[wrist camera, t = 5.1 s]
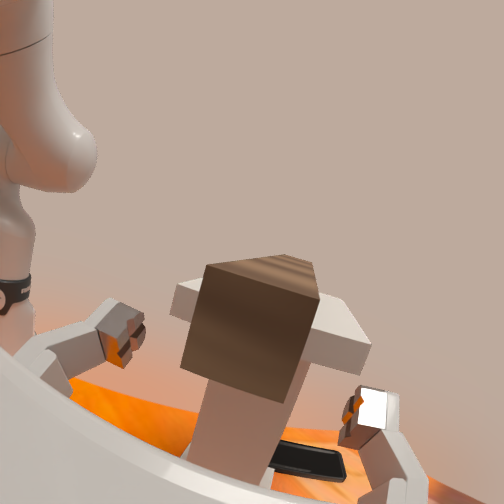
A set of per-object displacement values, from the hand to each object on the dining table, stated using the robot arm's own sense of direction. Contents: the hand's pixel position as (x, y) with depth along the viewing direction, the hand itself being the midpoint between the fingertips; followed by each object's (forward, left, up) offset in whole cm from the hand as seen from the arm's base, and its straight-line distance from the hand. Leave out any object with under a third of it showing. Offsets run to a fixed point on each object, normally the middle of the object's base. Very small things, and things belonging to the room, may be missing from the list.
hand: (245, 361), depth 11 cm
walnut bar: (-7, +8, 0) cm, 10 cm away
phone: (-12, +29, -26) cm, 41 cm away
